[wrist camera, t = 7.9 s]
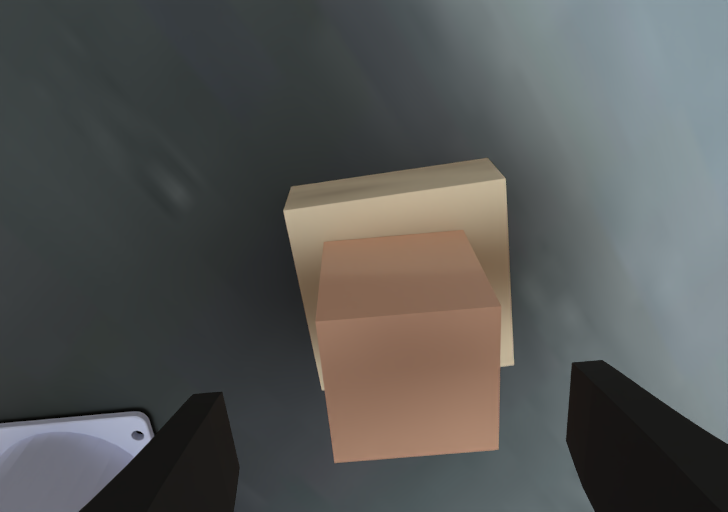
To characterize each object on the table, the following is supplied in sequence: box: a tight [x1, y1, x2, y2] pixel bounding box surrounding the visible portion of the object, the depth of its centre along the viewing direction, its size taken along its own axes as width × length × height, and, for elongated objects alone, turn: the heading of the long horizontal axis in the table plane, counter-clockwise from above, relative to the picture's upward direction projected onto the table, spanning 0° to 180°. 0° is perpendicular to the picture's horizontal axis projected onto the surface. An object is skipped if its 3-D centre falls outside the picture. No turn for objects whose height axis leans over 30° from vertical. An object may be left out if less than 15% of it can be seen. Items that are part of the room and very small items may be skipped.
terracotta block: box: [315, 230, 501, 463], centre depth 17 cm, size 4×4×5 cm
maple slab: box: [283, 158, 514, 390], centre depth 21 cm, size 7×7×3 cm
